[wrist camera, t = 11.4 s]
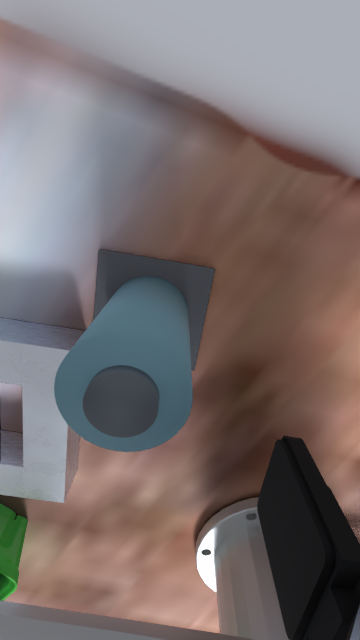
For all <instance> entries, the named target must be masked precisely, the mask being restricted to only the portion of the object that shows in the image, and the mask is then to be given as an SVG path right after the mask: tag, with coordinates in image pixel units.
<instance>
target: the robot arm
mask: <svg viewBox="0 0 360 640" xmlns="http://www.w3.org/2000/svg"><path fill="white" fill-rule="evenodd" d="M0 462H1V425H0ZM195 554H196V567H197V569H198V572H199V574H200V576H201V578H202V579H203V580H204V582H205V583H206V584H207V585H208V586H209V587H210V588H211V589H213V590H214V591H215V592H216V593H217V604H218V615H219V627H220V634H219V633H212V632H206V631H199V630H193V629H186V628H180V627H174V626H167V625H161V624H154V623H148V622H141V621H135V620H128V619H121V618H115V617H108V616H101V615H95V614H88V613H81V612H75V611H68V610H61V609H54V608H47V607H41V606H34V605H27V604H20V603H13V602H6V601H0V640H360V544H359V542H358V540H357V538H356V536H355V534H354V532H353V531H352V529H351V527H350V525H349V523H348V521H347V519H346V517H345V516H344V514H343V512H342V510H341V508H340V506H339V504H338V502H337V500H336V499H335V497H334V495H333V493H332V491H331V490H330V488H329V487H328V486H327V485H326V483H325V481H324V479H323V477H322V476H321V474H320V472H319V470H318V468H317V466H316V464H315V462H314V460H313V458H312V456H311V455H310V453H309V451H308V449H307V447H306V445H305V443H304V441H303V440H302V439H301V438H295V437H289V436H283V437H282V439H281V440H279V439H278V440H277V441H276V443H275V447H274V450H273V453H272V456H271V459H270V463H269V466H268V469H267V472H266V476H265V479H264V482H263V485H262V488H261V492H260V495H259V497H256V498H250V499H246V500H243V501H240V502H237V503H234V504H232V505H230V506H228V507H226V508H224V509H223V510H221V511H220V512H218V513H217V514H215V515H214V516H213V517H212V518H211V519H210V520H209V521H208V522H207V523H206V524H205V525H204V526H203V528H202V530H201V531H200V533H199V535H198V538H197V541H196V550H195Z"/></svg>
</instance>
